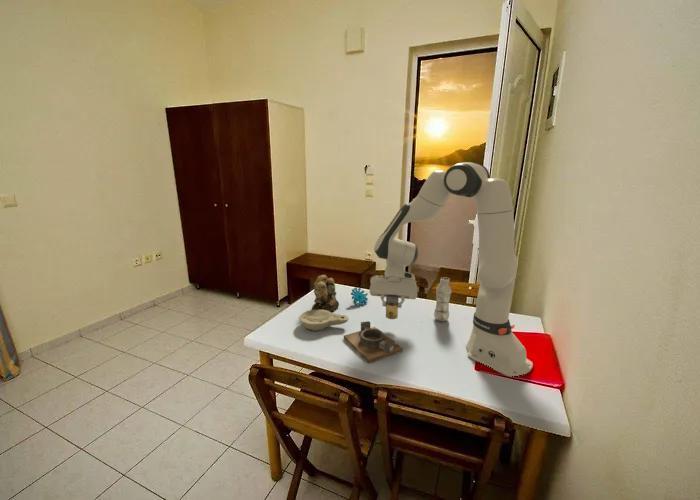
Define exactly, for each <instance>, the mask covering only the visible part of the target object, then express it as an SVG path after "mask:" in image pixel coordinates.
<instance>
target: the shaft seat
mask: <svg viewBox="0 0 700 500" xmlns="http://www.w3.org/2000/svg"><path fill="white" fill-rule="evenodd" d="M343 340H345V342H346V343H347V344H348V345H349V346H351V347H352V348H353V350H354V351H355V352H356V353H357V354H358V355H359V356H361V357H362V359H364V361H365V362H367V364H370V363H373V362H376V361H379V360H382V359H385V358H387V357H390V356H393V355H395V354H396V355H397V354H399V353H401V352H403V347H402V346H400V345H399V344H398V343H396V342H395V340H393V339H392V338H391V337H390V336H388V335H386V334H385V333H384V332H383V331H382V330H380V329H379V328H377V327H376V326H372V327H371V321H361V322H360V330H359V331H355V332H351V333H348V334H345V335H343Z"/></svg>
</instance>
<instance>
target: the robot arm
mask: <svg viewBox="0 0 700 500" xmlns="http://www.w3.org/2000/svg"><path fill="white" fill-rule="evenodd" d="M452 195H456V196H460V197H465V198H474V200H475V203H476V213H477V215H476V216H477V225H478V227H477V229H478V276H479V277H478V278H479V280H480V284H479V288H478V291H477V298H476V299H477V300H476V307H475V312H474V313H473V319H472V324H473V326H472V330H471V334H470V335H469V339H468V341H467V343H466V346H465V347H466V350H467V352H468V353H467V357H468V358H469V359H471V360H474V361H476V362H477V363H479V362H480V364H481V363H482V365H483V364H484V365H483V366H486V365H487V366H486V367H488V366H489V367H488V368H490V367H491V368H490V369H492V368H493V369H492V370H493V371H496V372H497V373H500V374H502V375H504V376H506V377H509V378H515V377H514V376H518V377H520V376H519V375H522V376H524V375H526V374H528V373H529V372H531V371H532V370H533V365H534V364H533V361H531V360H530V359H528V358H527V350H526V348H525V346H524V345H523V344H522V342H521V341H520V340H519V338H517V336H516V335H515V334H514V333H513V332H512V329H515V326H516V325H515V324H513V325H511V322H510V319H509V317H510V316H509V315H510V310H511V306H512V299H513V294H514V290H515V282H516V277H517V272H518V266H519V260H518V256H517V255H516V254H515V235H516V234H515V219H514V204H513V198H512V193H511V189H510V185H509V183H508V182H507V181H506V180H505V179H503V178H499V177H497V178H496V177H495V178H494V177H493V178H490V173H489V170H488V168H486V166H485V165H482V164H481V163H478V162H475V163H474V162H469V161H468V162H466V161H465V162H459V163H455V164H453V165H451V166H450V167H449V168H448V169H447V170H442V169H438V170H437V169H436V170H434V171H432V172H431V173H430V174H429V176H428V177H427V179H426V180H425V181H424V183H423V184H422V187H420V190H419V191H418V193H417V195H416V196H415V198H414V199H413V200H411V202H408V203H405V204H403V206H402V207H401V208H400V209H399V210H398V212H397V213H396V214H395V216H394V217H393V219H392V220H391V222H389V224H388V226H387V227H386V228H385V230H384V231H383V233H381V235H380V236H378V238H377V240H376V241H375V244H374V248H373V251H374V253H375V254H376V256H377V257H378V258H379V259H383V260H385V263H386V267H385V268H384V275H373V276H371V277H370V280H369V282H370V283H369V284H370V286H369V292H368V293H369V294H370V296H373V297H380V299H381V300H380V301H382V306H381V307H386V300H384V299H385V298H386V296H387V295H397V296H398V299H401V300H400V302H399V301H398V309H402V307H403V304H404V302H405V301H406V300H405V299H407V300H416V299H417V298H418V286H417V283H416V277H415V274H413V273H410V272H409V271H406V269H405V268H406V267H409V266H411V265H413V264H414V263H416V261H417V260H418V256H419V250H418V247H417V245H416V243H413V242H410V241H407V240H402V239H399V238H396V236H397V235H398V233H399V232H400V230H401V229H402V228H403V226H405V225H406V224H409V223H414V222H427V221H432V220H435V219H436V218H438V216H440V214H442V212H443V210H444V208H445V207H446V204H447V203H448V201H449V199H450V197H451V196H452ZM523 374H524V375H523ZM512 376H513V377H512Z"/></svg>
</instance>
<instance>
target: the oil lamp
mask: <svg viewBox="0 0 700 500" xmlns="http://www.w3.org/2000/svg"><path fill="white" fill-rule="evenodd" d="M349 320H350V319H349V317H348V316H347V315H345V314H337V313H335V312H332V313H331V312H329V311H327V310H312V309H311V310H306V311H305V312H302V313H301V314H300V316H299V321H300V323H301V325H302V326H303V327H304V328H305V329H307V330H310V331H321V330H325V329H326V328H329V327H332V326H337V325H344V324H346V323H347V322H348V321H349Z"/></svg>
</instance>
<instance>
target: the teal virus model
mask: <svg viewBox="0 0 700 500" xmlns="http://www.w3.org/2000/svg"><path fill="white" fill-rule="evenodd" d="M350 295H351V299H352V301H353V302H354V303H355V304H357V305H358V306H365V305H366V304H368V300H369V298H368V297H367V296H368V295H369V292H366V293H365V290H364V289H361V287H354V288H352V289H351V292H350Z"/></svg>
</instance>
